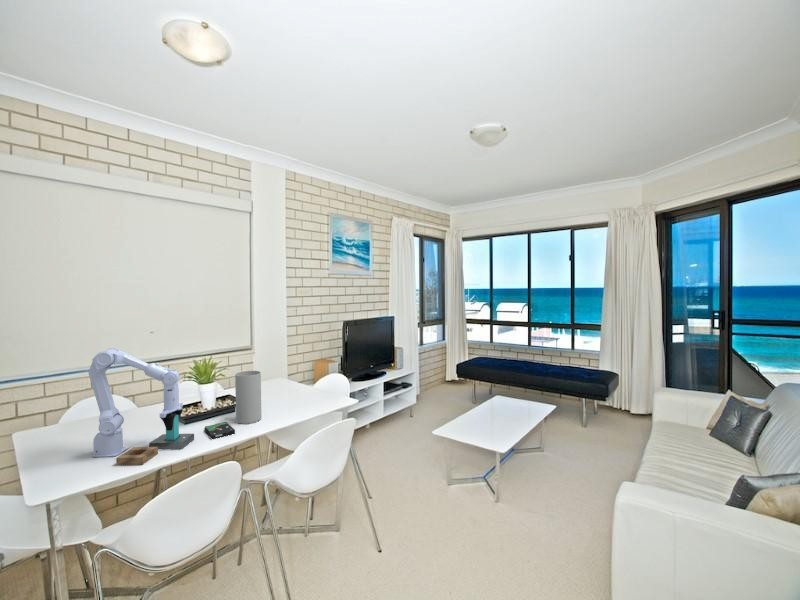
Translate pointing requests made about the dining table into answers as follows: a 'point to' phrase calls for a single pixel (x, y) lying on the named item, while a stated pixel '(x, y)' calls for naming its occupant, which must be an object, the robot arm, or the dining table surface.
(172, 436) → the plug
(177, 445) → the port block
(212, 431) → the disk drive
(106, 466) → the dining table surface
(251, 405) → the cylinder vase
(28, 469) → the dining table surface
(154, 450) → the tan square ring
